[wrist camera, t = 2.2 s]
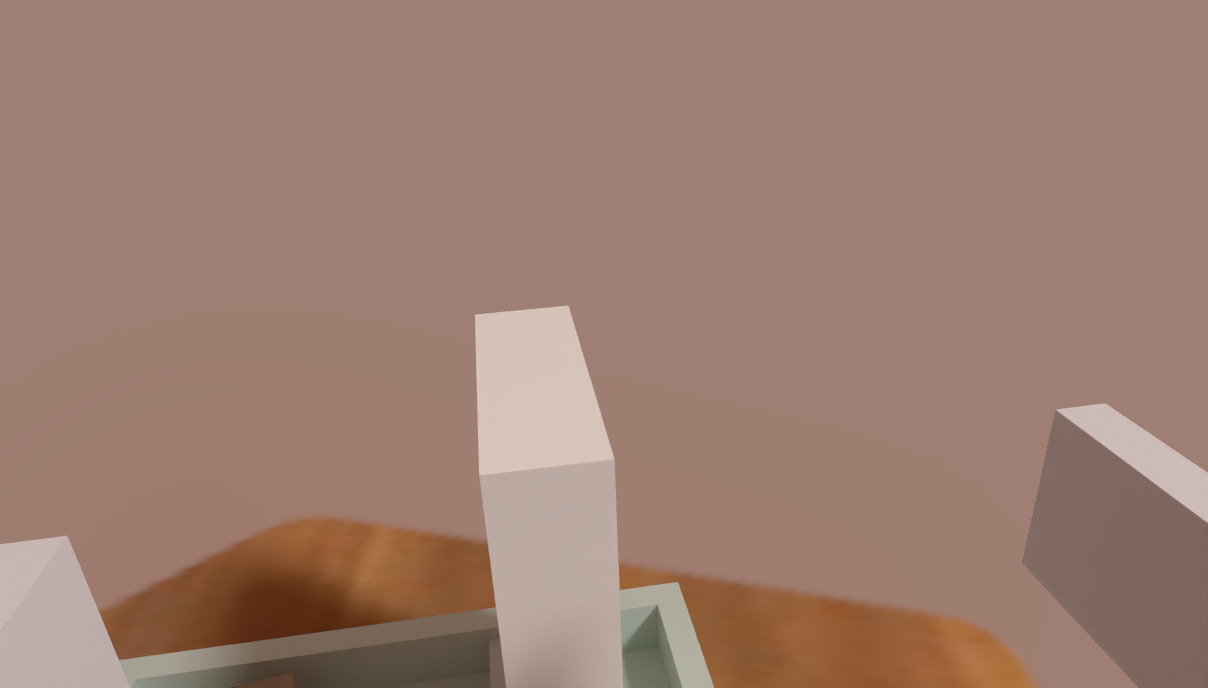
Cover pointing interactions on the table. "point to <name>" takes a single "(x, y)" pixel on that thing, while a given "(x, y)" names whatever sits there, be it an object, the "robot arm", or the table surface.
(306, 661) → the tray
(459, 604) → the table surface
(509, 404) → the white rectangular block
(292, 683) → the offcut upper
